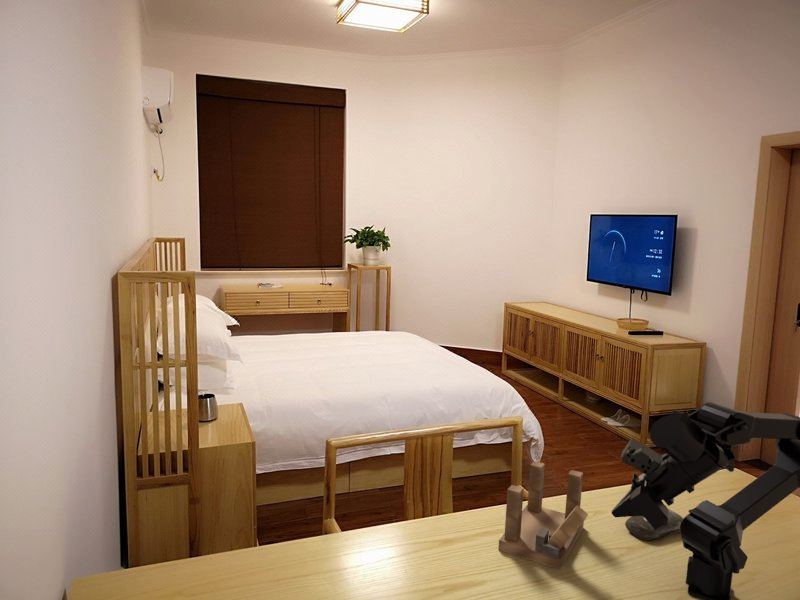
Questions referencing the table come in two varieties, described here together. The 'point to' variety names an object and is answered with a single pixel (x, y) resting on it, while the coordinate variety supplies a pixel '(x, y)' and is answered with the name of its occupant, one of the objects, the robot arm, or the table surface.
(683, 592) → the table surface
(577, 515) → the folding leg
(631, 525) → the stone
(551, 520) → the stool seat
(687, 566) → the robot arm
